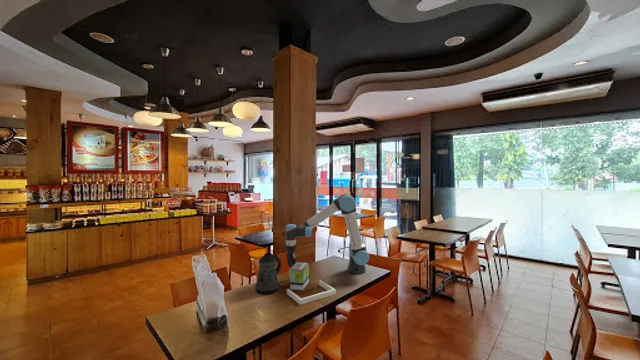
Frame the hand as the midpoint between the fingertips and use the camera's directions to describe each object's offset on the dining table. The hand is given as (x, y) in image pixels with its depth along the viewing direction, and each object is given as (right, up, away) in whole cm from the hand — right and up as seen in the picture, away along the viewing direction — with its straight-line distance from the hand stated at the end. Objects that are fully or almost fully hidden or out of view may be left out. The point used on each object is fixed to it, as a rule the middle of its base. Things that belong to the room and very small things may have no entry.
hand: (291, 275), depth 205 cm
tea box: (+7, -3, -11) cm, 14 cm away
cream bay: (+16, -3, -25) cm, 29 cm away
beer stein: (-14, -4, -17) cm, 22 cm away
